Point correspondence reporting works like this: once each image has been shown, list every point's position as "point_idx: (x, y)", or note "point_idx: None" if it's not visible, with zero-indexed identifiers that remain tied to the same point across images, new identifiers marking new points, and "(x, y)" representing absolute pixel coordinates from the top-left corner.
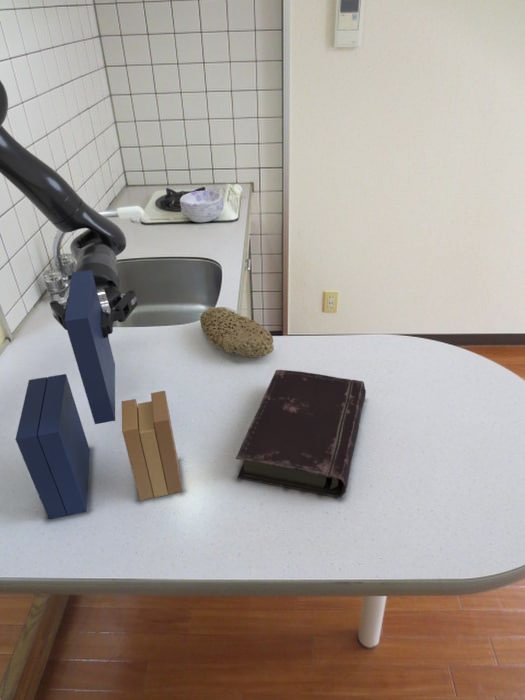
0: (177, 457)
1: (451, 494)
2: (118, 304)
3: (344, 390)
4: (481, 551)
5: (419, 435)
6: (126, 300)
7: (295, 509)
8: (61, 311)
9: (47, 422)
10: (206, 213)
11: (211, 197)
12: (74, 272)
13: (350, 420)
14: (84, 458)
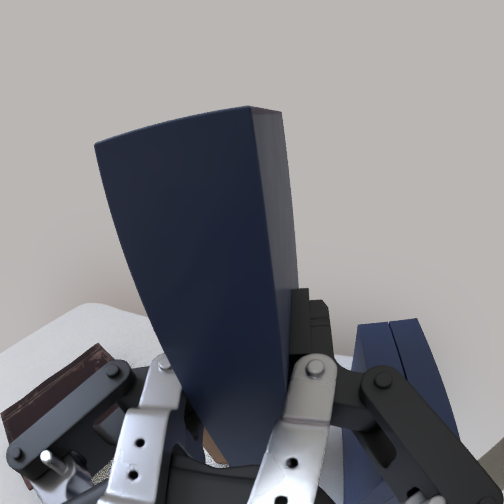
0: (213, 459)
1: (61, 338)
2: (105, 389)
3: (16, 415)
4: (86, 311)
5: (28, 378)
6: (66, 400)
7: (141, 365)
8: (409, 411)
9: (382, 342)
10: None
11: None
12: (226, 110)
13: (43, 384)
14: (347, 470)
